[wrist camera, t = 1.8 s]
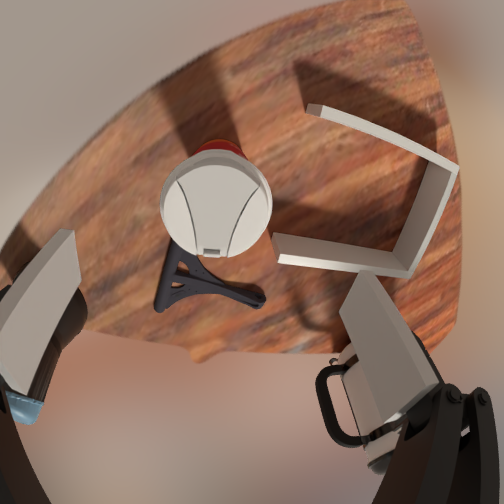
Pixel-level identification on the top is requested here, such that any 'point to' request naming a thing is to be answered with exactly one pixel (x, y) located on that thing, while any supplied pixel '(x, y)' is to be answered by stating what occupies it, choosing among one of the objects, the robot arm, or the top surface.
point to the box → (413, 232)
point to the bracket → (196, 282)
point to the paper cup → (216, 201)
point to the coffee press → (358, 412)
